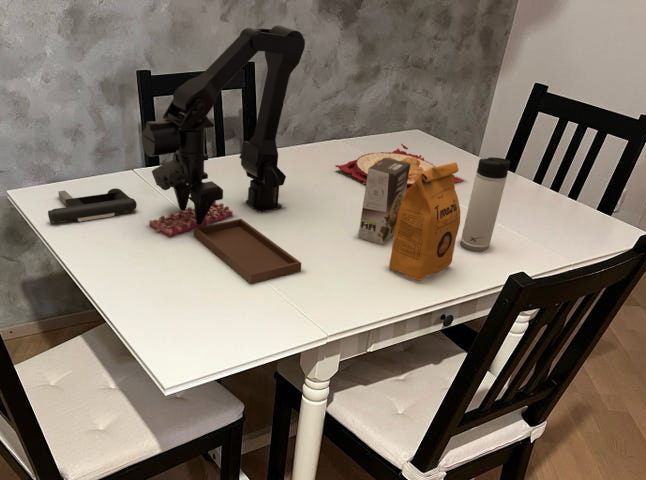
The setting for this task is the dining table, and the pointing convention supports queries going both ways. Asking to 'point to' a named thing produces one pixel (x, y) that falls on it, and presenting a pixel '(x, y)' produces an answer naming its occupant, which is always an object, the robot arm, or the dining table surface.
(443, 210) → the coffee package
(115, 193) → the door handle
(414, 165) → the plate with food
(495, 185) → the travel mug
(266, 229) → the dining table surface
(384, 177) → the coffee box
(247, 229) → the tray
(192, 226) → the pink flat grid slab
